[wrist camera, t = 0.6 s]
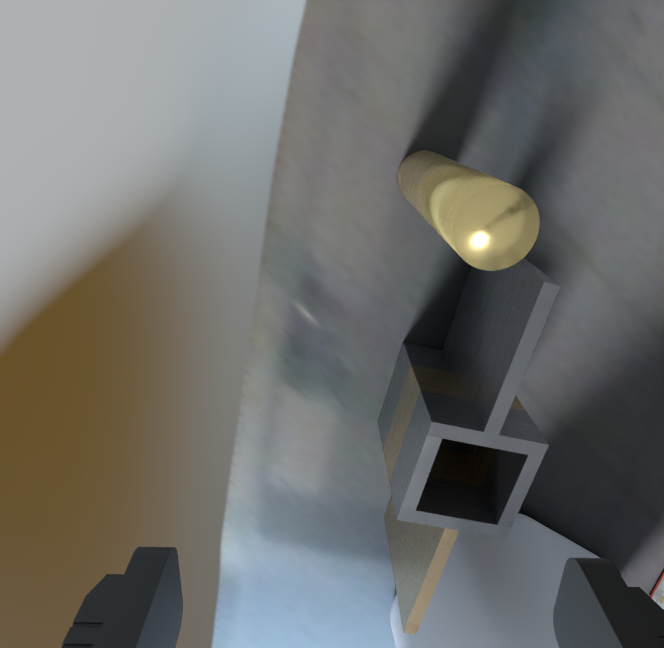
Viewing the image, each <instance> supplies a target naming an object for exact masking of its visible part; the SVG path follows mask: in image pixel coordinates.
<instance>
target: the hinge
mask: <svg viewBox="0 0 664 648" xmlns="http://www.w3.org/2000/svg"><path fill="white" fill-rule="evenodd" d="M560 286H561V285H559V284H558V283H557V282H555V281H554V280H553V279H551V278H550V277H549V276H547V275H546V274H545V273H543V272H542V271H541V270H539V269H538V268H537V267H535V266H534V265H533V264H531V263H530V262H529V261H527V260H526V259H525V258H523V259H521V260H520V261H519V262H517V263H516V264H514V265H512V266H510V267H508V268H505V269H501V270H495V271H486V270H481V269H478V268H475V267H473V266H471V269H470V272H469V275H468V278H467V281H466V284H465V286H464V289H463V292H462V295H461V298H460V301H459V304H458V307H457V310H456V312H455V315H454V318H453V321H452V324H451V327H450V330H449V333H448V335H447V338H446V341H445V344H444V347H443V350H437V349H433V348H428V347H423V346H419V345H414V344H409V343H404V342H403V344H402V347H401V350H400V353H399V356H398V360H397V363H396V366H395V369H394V372H393V375H392V379H391V382H390V385H389V388H388V391H387V394H386V398H385V401H384V404H383V407H382V410H381V413H380V417H379V420H378V425H379V430H380V436H381V441H382V446H383V451H384V456H385V461H386V467H387V472H388V477H389V482H390V487H391V492H392V497H391V500H390V503H389V505H388V508H387V511H386V514H385V517H384V520H385V526H386V532H387V538H388V544H389V550H390V556H391V562H392V568H393V574H394V581H395V587H396V593H397V599H398V605H399V611H400V617H401V623H402V629H403V633H409V634H415V635H416V633H417V631H418V629H419V626H420V624H421V621H422V619H423V617H424V614H425V612H426V609H427V607H428V605H429V602H430V600H431V597H432V595H433V592H434V590H435V588H436V585H437V583H438V580H439V578H440V576H441V573H442V571H443V568H444V566H445V564H446V561H447V559H448V556H449V554H450V552H451V549H452V547H453V544H454V542H455V539H456V537H457V535H458V532H459V531H464V532H470V533H475V534H481V535H487V536H492V537H498V538H504V539H506V538H507V536H508V534H509V531H510V529H511V527H512V525H513V523H514V521H515V518H516V516H517V514H518V512H519V510H520V507H521V505H522V503H523V501H524V499H525V497H526V494H527V492H528V490H529V488H530V486H531V483H532V481H533V479H534V477H535V475H536V473H537V470H538V468H539V466H540V464H541V462H542V459H543V457H544V455H545V453H546V451H547V449H548V446H549V444H548V442H547V441H546V440H545V438H544V437H543V435H542V434H541V432H540V431H539V429H538V428H537V426H536V425H535V423H534V422H533V420H532V419H531V418H530V416H529V415H528V413H527V412H526V410H525V409H524V407H523V406H522V404H521V403H520V401H519V400H518V398H517V397H516V392H517V390H518V388H519V385H520V383H521V380H522V378H523V376H524V373H525V371H526V368H527V366H528V364H529V361H530V359H531V356H532V354H533V352H534V349H535V347H536V344H537V342H538V339H539V337H540V335H541V332H542V330H543V327H544V325H545V323H546V320H547V318H548V315H549V313H550V311H551V308H552V306H553V303H554V301H555V299H556V296H557V294H558V291H559V289H560Z"/></svg>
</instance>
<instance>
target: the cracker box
mask: <svg viewBox="0 0 664 648" xmlns="http://www.w3.org/2000/svg"><path fill="white" fill-rule="evenodd" d="M650 598H652V599H653V600H654V601H655V602H656V603H657V604H658V605H659V606H660V607H661V608H662V609H664V572H663V574H662V576H661V577H660V579H659V581H658V582H657V584H656V586H655V588H654V590H653V591H652V593H651V595H650Z"/></svg>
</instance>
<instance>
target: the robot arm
mask: <svg viewBox="0 0 664 648" xmlns="http://www.w3.org/2000/svg"><path fill="white" fill-rule="evenodd" d="M182 611H183V599H182V590H181V581H180V572H179V563H178V554H177V550H176V548H175V547H138V548H137V549H136V550H135V551H134V553H133V556H132V558H131V560H130V562H129V565H128V567H127V570H126V572H125V574H124V575H121V574H119V575H117V574H107V575H106V576H105V577H104V578H103V579H102V580H101V581H100V582H99V583H98V584H97V585H96V586H95V587H94V588H93V589H92V590H91V591H90V592H89V593H88V594H87V595H86V597H85V599H84V601H83V603H82V605H81V607H80V609H79V611H78V613H77V615H76V617H75V619H74V621H73V626H72V627H70V629H69V631H68V633H67V635H66V637H65V639H64V642H63V643H62V648H175V646H176V642H177V639H178V635H179V631H180V626H181V620H182ZM553 625H554V632H555V636H556V640H557V643H558V646H559V648H664V609H662V608H661V607H660V606H659V605H658V604H657V603H656V602H655V601H654V600H653V599H652V598H650V597H649V596H648V595H647V594H646V593H645V592H644V591H643V590H642V589H641V588H640V587H627V585H626V583H625V582H624V580H623V578H622V577H621V575H620V573H619V572H618V570H617V568H616V567H615V565H614V564H613V563H612V561H610V560H609V559H607V558H568V559H567V561H566V563H565V567H564V571H563V574H562V578H561V582H560V586H559V590H558V594H557V598H556V602H555V606H554V610H553Z"/></svg>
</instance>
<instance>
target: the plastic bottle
mask: <svg viewBox="0 0 664 648" xmlns="http://www.w3.org/2000/svg"><path fill="white" fill-rule="evenodd" d="M568 558H600V557H598V556H597V555H595V554H593V553H591V552H590V551H588V550H586V549H584V548H583V547H581V546H579V545H577V544H576V543H574V542H572V541H570V540H568V539H567V538H565V537H563V536H561V535H560V534H558V533H556V532H554V531H553V530H551V529H549V528H547V527H546V526H544V525H542V524H540V523H539V522H537V521H535V520H533V519H532V518H530V517H528V516H526V515H523V514H520V513H518V514H517V516H516V518H515V521H514V523H513V525H512V527H511V529H510V531H509V534H508V536H507V538H506V539H504V538H498V537H492V536H487V535H481V534H475V533H470V532H464V531H459V532H458V535H457V537H456V539H455V542H454V544H453V547H452V549H451V552H450V554H449V556H448V559H447V561H446V564H445V566H444V568H443V571H442V573H441V576H440V578H439V580H438V583H437V585H436V588H435V590H434V592H433V595H432V597H431V600H430V602H429V605H428V607H427V609H426V612H425V614H424V617H423V619H422V621H421V624H420V626H419V629H418V631H417V633H416V635H415V634H409V633H403V629H402V623H401V617H400V611H399V605H398V599H397V594H396V596H395V598H394V601H393V603H392V607H391V614H390V620H391V626H392V631H393V635H394V640H395V644H396V648H559V646H558V643H557V640H556V636H555V632H554V625H553V610H554V606H555V602H556V598H557V594H558V590H559V586H560V582H561V578H562V574H563V571H564V567H565V563H566V561H567V559H568Z"/></svg>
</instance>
